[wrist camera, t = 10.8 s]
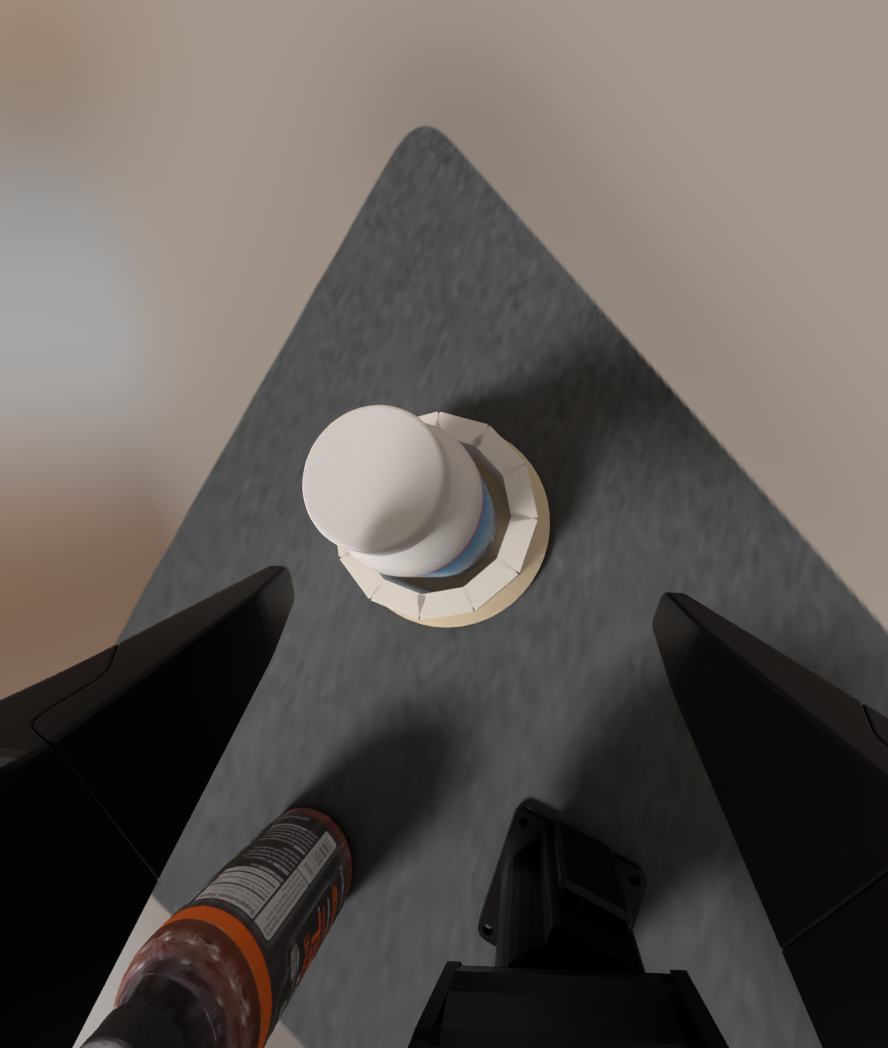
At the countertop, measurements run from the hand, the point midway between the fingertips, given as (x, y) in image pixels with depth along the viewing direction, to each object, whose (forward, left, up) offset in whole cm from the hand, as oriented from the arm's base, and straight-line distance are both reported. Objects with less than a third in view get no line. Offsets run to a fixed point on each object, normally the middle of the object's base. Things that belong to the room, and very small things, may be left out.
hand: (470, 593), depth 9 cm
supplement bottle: (-19, +5, -13) cm, 24 cm away
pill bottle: (+2, +4, -13) cm, 13 cm away
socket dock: (+2, +4, -13) cm, 14 cm away
